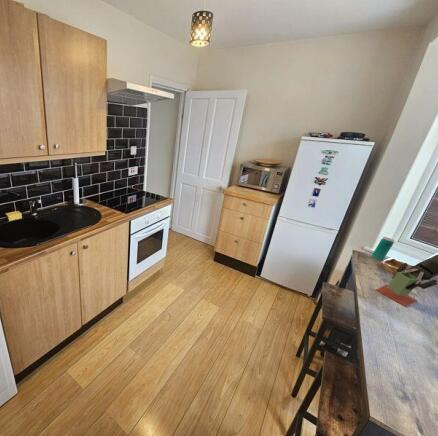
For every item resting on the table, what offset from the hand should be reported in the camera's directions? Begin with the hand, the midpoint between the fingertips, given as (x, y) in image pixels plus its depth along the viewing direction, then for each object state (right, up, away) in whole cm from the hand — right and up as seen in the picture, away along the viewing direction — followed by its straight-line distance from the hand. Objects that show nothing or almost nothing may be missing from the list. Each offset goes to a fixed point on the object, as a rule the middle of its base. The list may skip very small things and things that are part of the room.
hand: (399, 283), depth 114 cm
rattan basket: (+26, +1, +25) cm, 36 cm away
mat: (+2, -7, +4) cm, 8 cm away
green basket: (+1, -4, +2) cm, 5 cm away
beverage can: (+24, +6, +36) cm, 44 cm away
